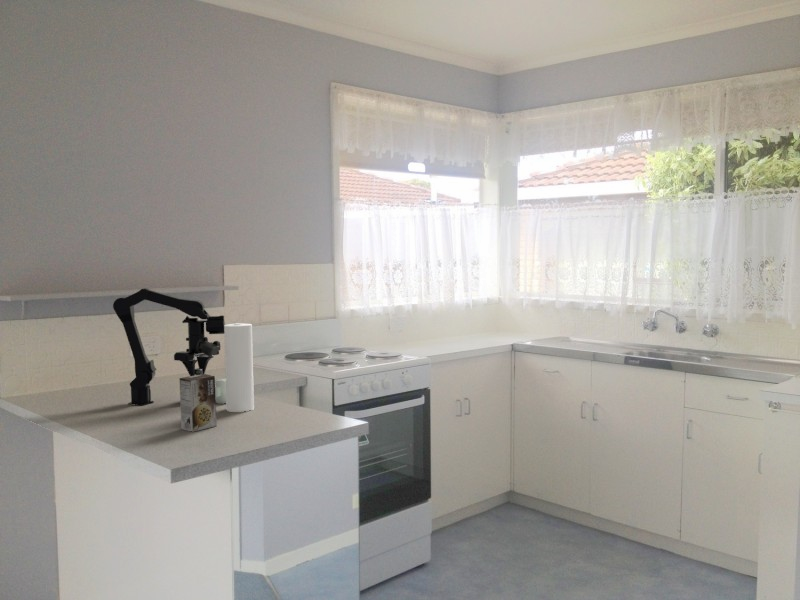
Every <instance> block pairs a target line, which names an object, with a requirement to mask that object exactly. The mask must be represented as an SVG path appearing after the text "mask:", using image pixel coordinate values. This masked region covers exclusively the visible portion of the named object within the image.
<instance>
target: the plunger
mask: <svg viewBox="0 0 800 600" xmlns="http://www.w3.org/2000/svg"><path fill="white" fill-rule="evenodd" d="M200 374H203V369H201V368H199V367H198V368H196V367H195V375H200Z"/></svg>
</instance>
